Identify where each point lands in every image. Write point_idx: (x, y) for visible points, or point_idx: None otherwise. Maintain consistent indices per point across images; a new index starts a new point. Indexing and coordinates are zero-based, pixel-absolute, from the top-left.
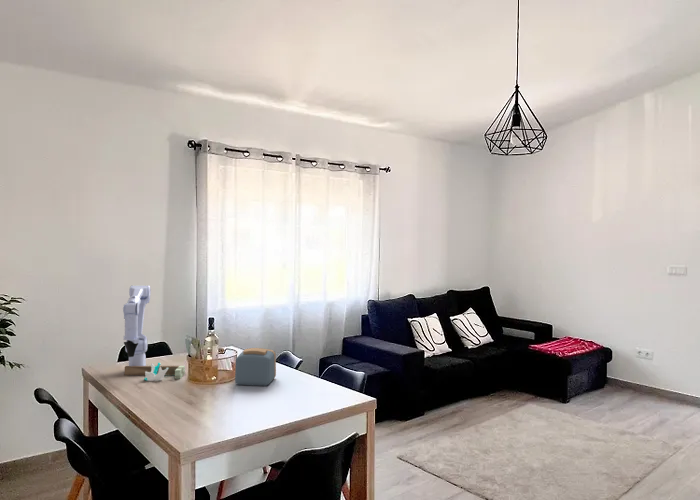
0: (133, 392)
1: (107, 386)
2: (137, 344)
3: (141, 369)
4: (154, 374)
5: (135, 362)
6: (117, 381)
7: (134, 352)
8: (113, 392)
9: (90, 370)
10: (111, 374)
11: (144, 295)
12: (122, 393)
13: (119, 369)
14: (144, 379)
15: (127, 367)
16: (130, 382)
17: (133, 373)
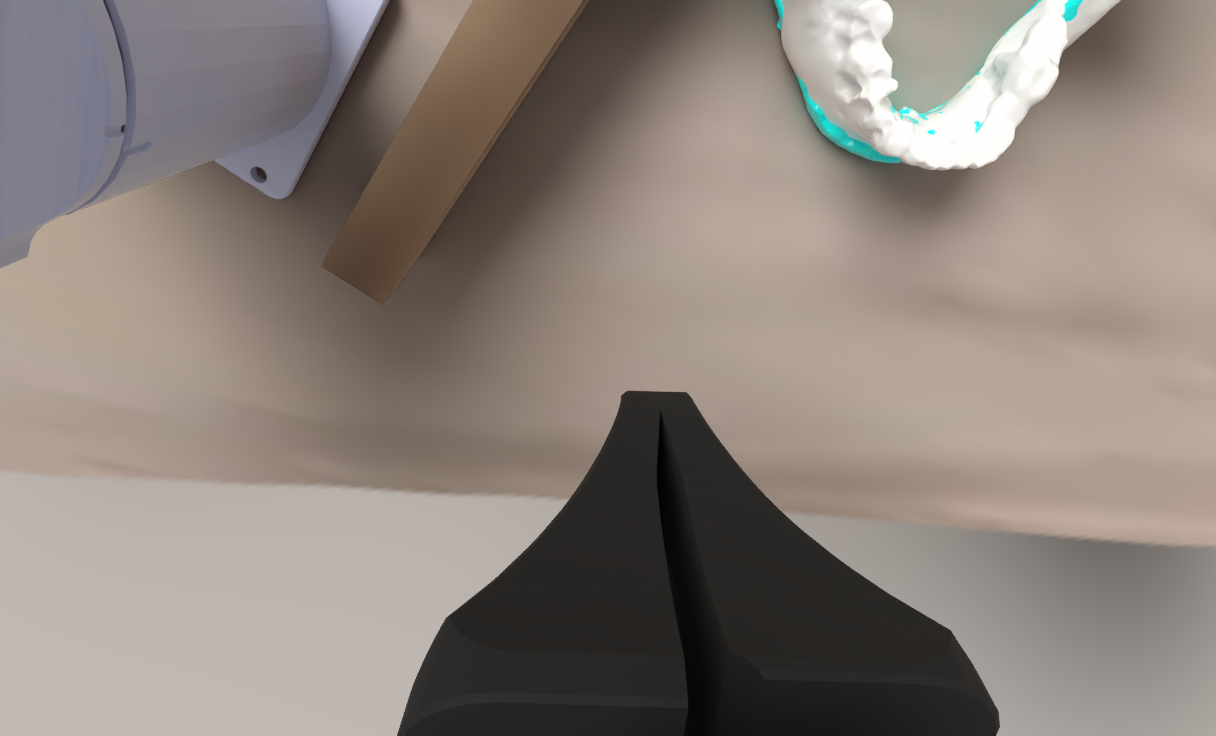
0: (1177, 427)
1: None
2: (914, 619)
3: (540, 69)
4: (1060, 34)
5: (248, 94)
6: None
7: (717, 442)
8: (995, 530)
9: (10, 453)
10: (302, 356)
11: None
12: (1098, 496)
13: None
14: (881, 161)
15: (407, 267)
16: (813, 323)
17: (477, 167)
